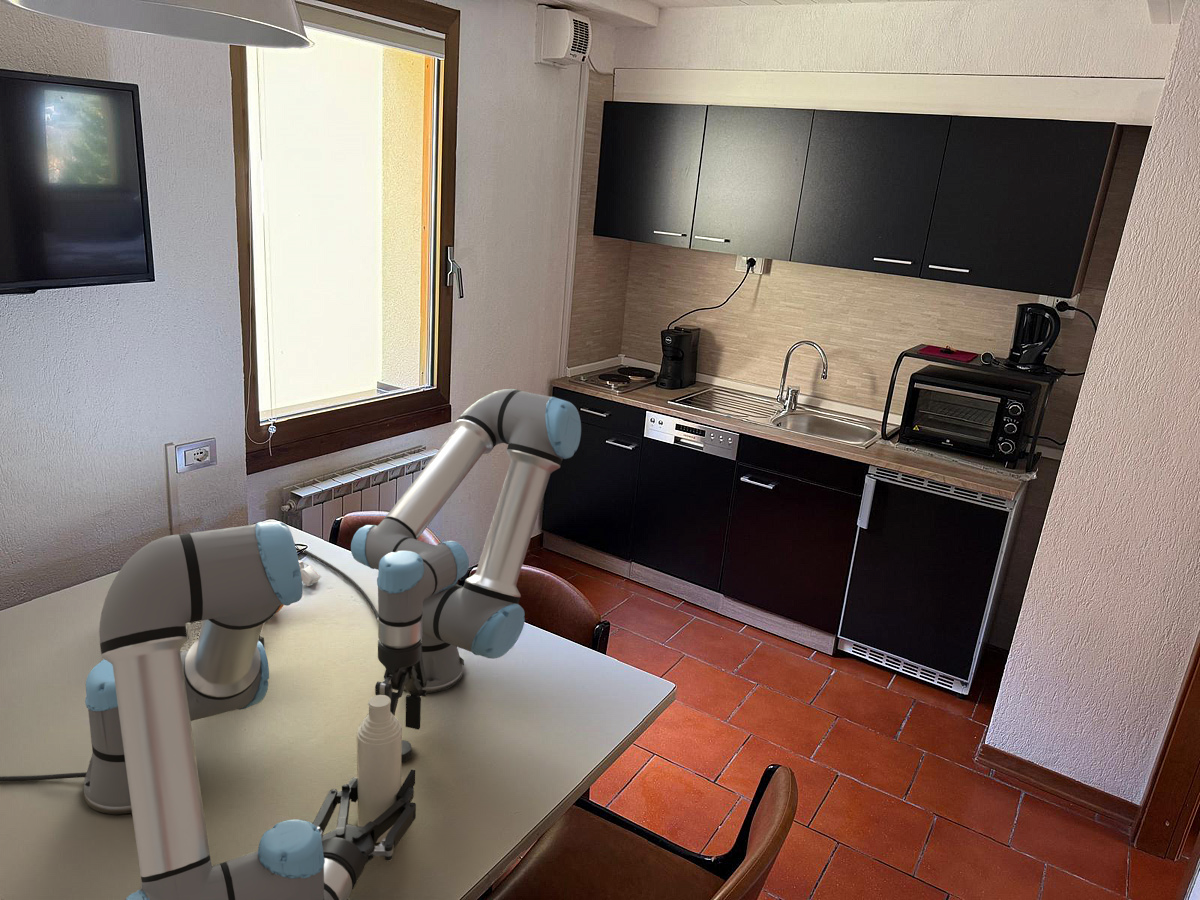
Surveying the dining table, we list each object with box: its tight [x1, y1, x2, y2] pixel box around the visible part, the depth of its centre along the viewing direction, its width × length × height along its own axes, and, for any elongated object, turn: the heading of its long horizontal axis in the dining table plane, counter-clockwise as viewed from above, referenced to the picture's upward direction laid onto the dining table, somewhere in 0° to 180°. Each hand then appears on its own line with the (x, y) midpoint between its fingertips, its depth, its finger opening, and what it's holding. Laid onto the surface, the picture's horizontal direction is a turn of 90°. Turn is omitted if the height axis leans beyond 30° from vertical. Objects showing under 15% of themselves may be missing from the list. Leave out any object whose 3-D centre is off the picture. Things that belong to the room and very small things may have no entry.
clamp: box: [298, 559, 322, 587], centre depth 219 cm, size 20×4×7 cm, turn 62°
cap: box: [401, 739, 413, 764], centre depth 156 cm, size 5×5×2 cm
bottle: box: [356, 695, 403, 844], centre depth 135 cm, size 7×7×24 cm
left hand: (391, 772), depth 142 cm, fingers closed on bottle, 7 cm apart
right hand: (399, 745), depth 156 cm, fingers open, 11 cm apart
